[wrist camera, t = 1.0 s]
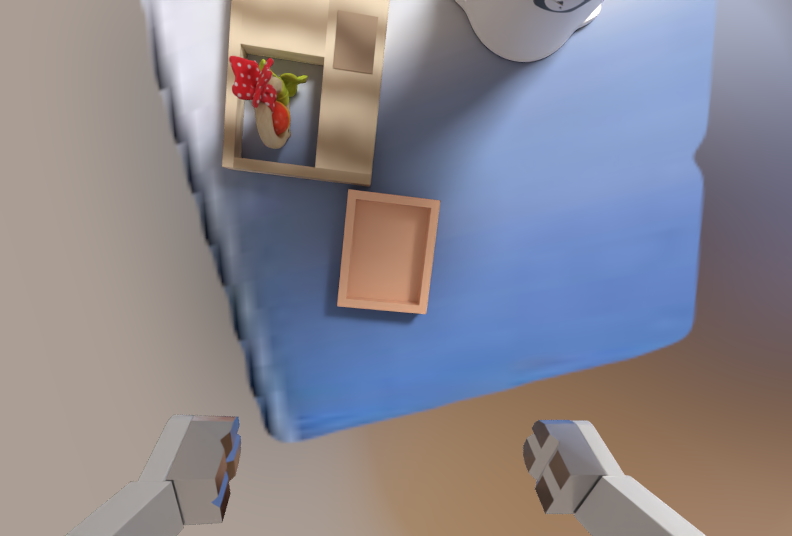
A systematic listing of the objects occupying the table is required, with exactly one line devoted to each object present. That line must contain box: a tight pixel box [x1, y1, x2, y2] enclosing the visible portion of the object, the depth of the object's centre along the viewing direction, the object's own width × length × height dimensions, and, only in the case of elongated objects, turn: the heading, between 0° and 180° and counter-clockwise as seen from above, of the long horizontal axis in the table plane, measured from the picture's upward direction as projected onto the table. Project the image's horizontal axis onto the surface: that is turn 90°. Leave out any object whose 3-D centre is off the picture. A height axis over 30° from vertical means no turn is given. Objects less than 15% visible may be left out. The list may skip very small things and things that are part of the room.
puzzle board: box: [222, 0, 390, 187], centre depth 43 cm, size 21×17×3 cm
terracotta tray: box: [337, 189, 440, 314], centre depth 46 cm, size 14×11×2 cm
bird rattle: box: [229, 56, 308, 149], centre depth 39 cm, size 6×11×9 cm
